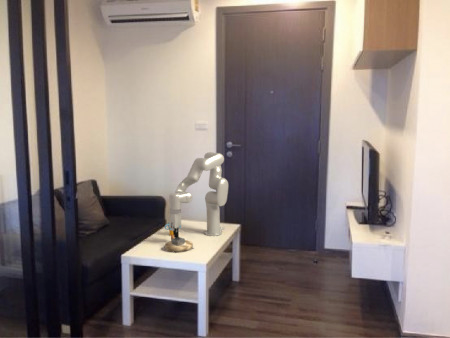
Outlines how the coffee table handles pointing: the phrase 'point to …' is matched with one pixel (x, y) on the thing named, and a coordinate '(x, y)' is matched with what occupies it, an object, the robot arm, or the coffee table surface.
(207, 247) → the coffee table surface
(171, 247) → the turntable
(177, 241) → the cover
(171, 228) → the cylinder
